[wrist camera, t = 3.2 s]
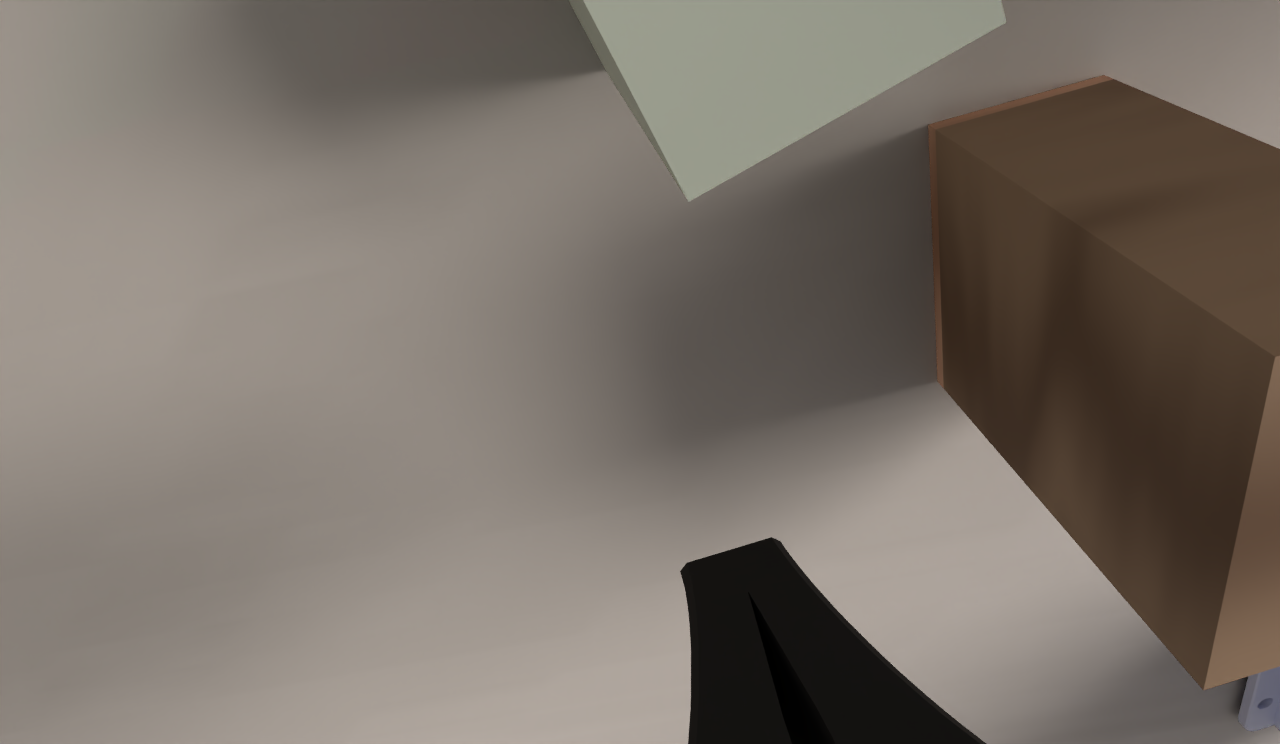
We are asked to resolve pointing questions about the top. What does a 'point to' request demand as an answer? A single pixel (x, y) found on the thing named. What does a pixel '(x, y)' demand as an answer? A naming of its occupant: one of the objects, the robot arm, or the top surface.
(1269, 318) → the walnut block
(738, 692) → the robot arm
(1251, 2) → the top surface
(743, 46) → the sage block
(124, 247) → the top surface
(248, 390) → the top surface
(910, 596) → the top surface
